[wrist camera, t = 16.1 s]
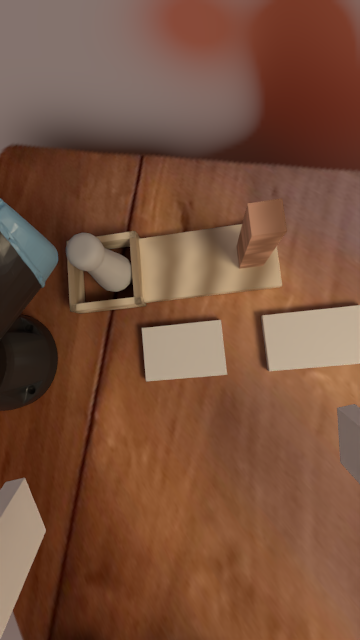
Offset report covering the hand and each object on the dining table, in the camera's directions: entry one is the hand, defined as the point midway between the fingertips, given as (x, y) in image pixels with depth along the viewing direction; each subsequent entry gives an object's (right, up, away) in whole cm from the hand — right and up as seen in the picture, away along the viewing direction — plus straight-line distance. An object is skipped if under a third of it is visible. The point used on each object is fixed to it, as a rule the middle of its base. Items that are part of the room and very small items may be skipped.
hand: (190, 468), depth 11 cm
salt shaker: (-10, +13, +32) cm, 36 cm away
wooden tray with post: (-2, +14, +31) cm, 34 cm away
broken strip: (+10, +3, +28) cm, 30 cm away
